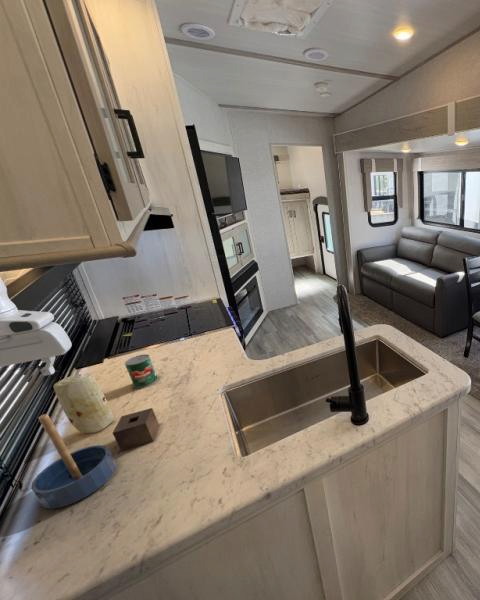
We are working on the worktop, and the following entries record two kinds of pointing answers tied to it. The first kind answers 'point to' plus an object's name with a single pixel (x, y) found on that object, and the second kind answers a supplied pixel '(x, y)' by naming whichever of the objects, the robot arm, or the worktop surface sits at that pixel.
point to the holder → (136, 429)
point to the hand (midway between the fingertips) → (22, 380)
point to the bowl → (60, 484)
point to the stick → (60, 446)
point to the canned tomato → (141, 371)
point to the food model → (84, 403)
